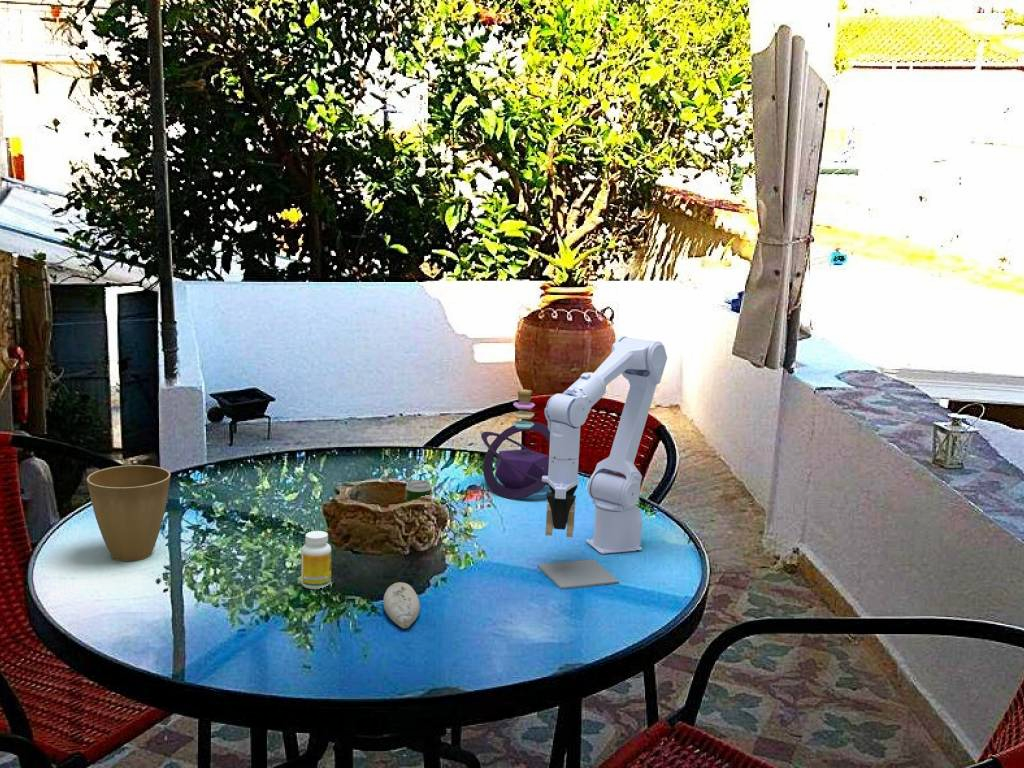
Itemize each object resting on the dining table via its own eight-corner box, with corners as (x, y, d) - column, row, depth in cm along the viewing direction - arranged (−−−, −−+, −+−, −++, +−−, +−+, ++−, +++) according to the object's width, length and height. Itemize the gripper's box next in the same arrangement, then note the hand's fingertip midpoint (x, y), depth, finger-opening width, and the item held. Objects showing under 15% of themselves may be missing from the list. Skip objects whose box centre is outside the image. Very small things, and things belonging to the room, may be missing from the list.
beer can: (411, 544, 204) (413, 488, 202) (399, 536, 209) (401, 481, 207) (434, 540, 207) (436, 485, 205) (422, 532, 212) (423, 478, 210)
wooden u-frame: (547, 526, 196) (549, 496, 195) (573, 528, 196) (575, 498, 195) (545, 535, 191) (547, 504, 190) (572, 537, 191) (574, 506, 190)
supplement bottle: (298, 581, 183) (298, 531, 181) (326, 577, 185) (327, 528, 183) (305, 591, 178) (305, 540, 176) (334, 587, 180) (335, 537, 179)
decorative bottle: (459, 489, 245) (462, 389, 240) (507, 472, 262) (511, 379, 258) (534, 507, 233) (539, 403, 228) (580, 488, 250) (586, 391, 245)
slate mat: (593, 561, 199) (593, 559, 199) (619, 583, 188) (619, 581, 188) (537, 566, 195) (537, 564, 195) (560, 589, 184) (560, 587, 184)
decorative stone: (388, 633, 163) (388, 614, 162) (379, 596, 178) (379, 578, 177) (425, 631, 164) (426, 612, 164) (413, 595, 179) (413, 577, 178)
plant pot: (76, 553, 192) (73, 473, 189) (149, 537, 202) (147, 461, 200) (112, 575, 182) (109, 491, 179) (186, 556, 193) (185, 476, 190)
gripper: (545, 446, 198) (542, 511, 201) (540, 464, 184) (536, 534, 187) (581, 448, 198) (577, 513, 200) (578, 467, 183) (574, 537, 186)
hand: (560, 524), depth 193 cm, fingers closed on wooden u-frame, 5 cm apart
